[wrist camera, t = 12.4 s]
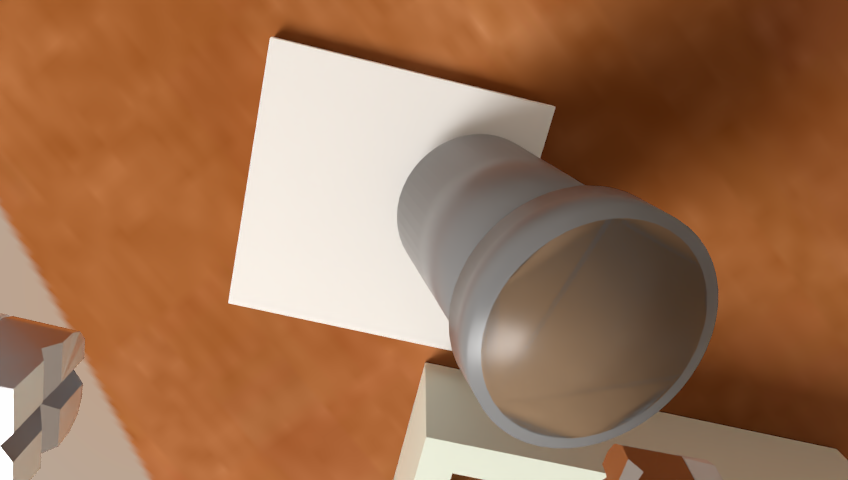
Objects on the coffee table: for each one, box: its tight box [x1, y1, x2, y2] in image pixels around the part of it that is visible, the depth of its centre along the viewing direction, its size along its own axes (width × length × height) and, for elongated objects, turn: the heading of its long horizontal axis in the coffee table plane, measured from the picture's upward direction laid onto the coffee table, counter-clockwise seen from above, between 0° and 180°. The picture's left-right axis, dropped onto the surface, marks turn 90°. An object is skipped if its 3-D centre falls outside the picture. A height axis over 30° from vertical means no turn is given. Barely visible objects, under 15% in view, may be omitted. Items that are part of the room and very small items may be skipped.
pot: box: [397, 134, 718, 448], centre depth 19 cm, size 6×6×9 cm
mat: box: [228, 37, 556, 351], centre depth 24 cm, size 10×10×1 cm
